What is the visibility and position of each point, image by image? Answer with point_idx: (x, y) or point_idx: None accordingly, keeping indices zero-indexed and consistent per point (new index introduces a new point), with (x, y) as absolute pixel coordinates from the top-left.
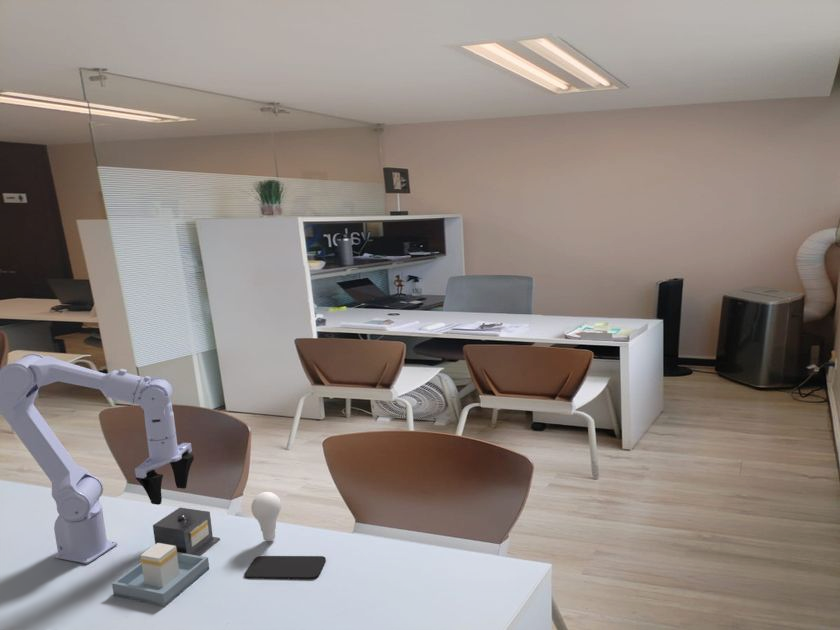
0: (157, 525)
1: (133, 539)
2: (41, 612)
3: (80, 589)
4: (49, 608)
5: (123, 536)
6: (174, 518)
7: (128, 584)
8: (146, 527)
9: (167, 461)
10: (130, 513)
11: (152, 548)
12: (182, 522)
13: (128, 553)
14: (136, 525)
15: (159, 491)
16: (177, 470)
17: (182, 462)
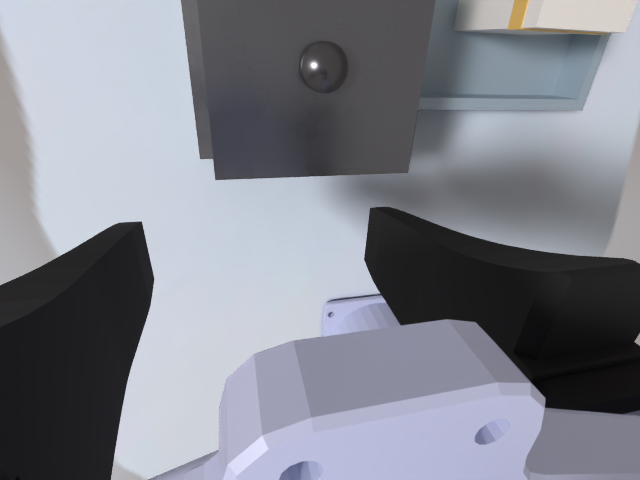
0: (407, 148)
1: (286, 286)
2: (588, 222)
3: (515, 216)
4: (577, 219)
5: (281, 323)
6: (331, 112)
7: (598, 43)
8: (214, 308)
9: (563, 440)
10: (167, 406)
11: (581, 13)
12: (363, 22)
13: (356, 238)
14: (216, 341)
15: (436, 232)
16: (108, 367)
17: (40, 395)
